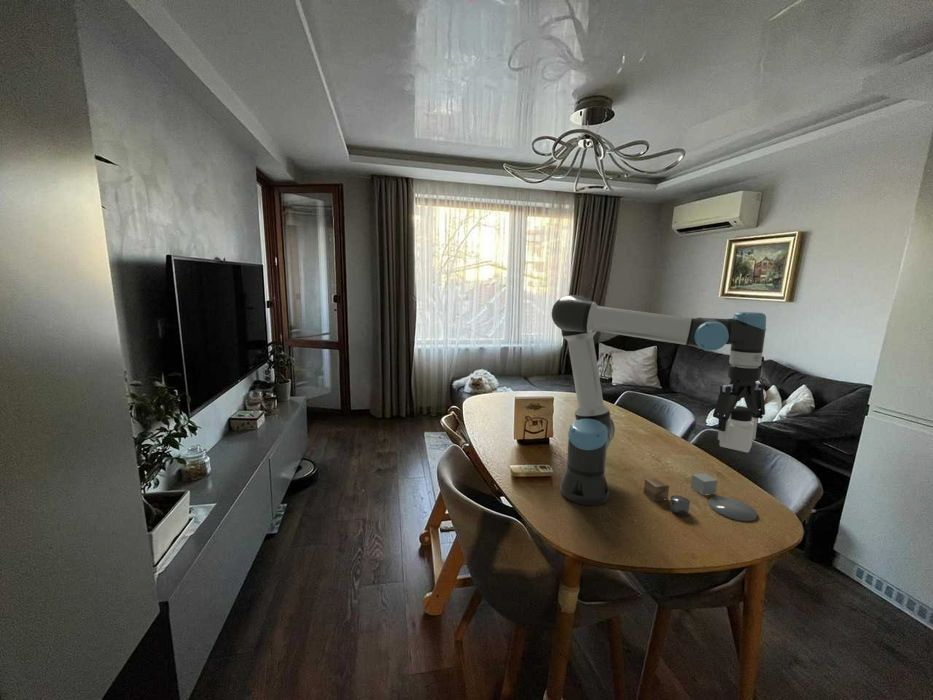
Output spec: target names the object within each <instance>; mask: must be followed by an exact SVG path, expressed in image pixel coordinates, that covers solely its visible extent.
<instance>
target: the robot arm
mask: <svg viewBox="0 0 933 700" xmlns="http://www.w3.org/2000/svg"><path fill="white" fill-rule="evenodd" d="M551 319H552V321H553V323H554V325H555V326H556V327H557V328H559V329H560V331H561V336H562V338H563V339H565V340H566V341H567V346H568V352H569V359H570V363H571V370H572V377H573V382H574V388H575V395H576V399H577V400H576V401H577V408H576V409H575V411H574V416H575V417H574V418H575V420H574V421H573V422H571V424H570V426H569V430H568V436H567V437H568V440H567V441H568V442H567V443H568V445H567V461H566V469H565V472H564V474H563V477H562V479H561V481H560V484H559V485H560V487H559V490H560V493H561V495H562V497H564V498H565V499H567V500H569V501H570V502H573V503H575V504H579V505H583V506H589V507H590V506H599V505H603V504H605V503H607V502H608V500H609V496H610V495H609V493H610V491H609V490H610V489H609V486H608V482H607V478H606V475H605V474H606V473H605V471H606V459H607V458H606V456H607V450H608V449H609V447H610V444H611V442H612V440H613V438H614V436H615V432H616V429H615V428H616V427H615V423H614V421H613V418H611V412H610V409H609V407H608V406H606V405H605V403H604V398H603V397H604V396H603V392H602V385H601V381H600V380H601V379H600V372H599V367H598V361H597V360H598V359H597V354H596V348H595V341H594V336H595V334H596V333H597V332H600V333H601V332H602V333H608V334H615V335H620V336H626V337H632V338H640V339H646V340H653V341H658V342H659V341H660V342H665V343H671V344H672V343H673V344H679V345H683V346H684V345H685V346H689V347H694V348H695V347H696V348H701V349H703V350H706V351H717V350H720V349H721V348H723V347H725V345H730V353H729V359H728V360H729V362H728V363H729V365H728V370H727V371H728V372H727V377H728V378H729V380H730V381H729V383H728V384H721V385H720V386H719V395H718V398H717V400H716V404H715V406H714V411H713V413H712V417H713V418H714V419H715V418H716V419H718V423H717V424H718V425H717V430H718V432H717V440H718V441H719V442H720V441H722V442H725V443H728V438H729V428H730V421H728V419H729V417H730V415H731V413H732V411H733V409H734V408H735V406H737V404H738V402H740V401H741V400H742V399H744V402H745V406H746V408H749V409H750V410H752V420H751V423H754V431H753V440H756V438H757V437H756V435H757V428H758V425H759V424H758V423H759V419H763V418H764V415H765V414H766V405H765V396H764V395H765V394H764V390H765V384H764V383H762V382H759V380H760V379H761V371H762V369H761V368H760V367H761V366H762V360H763V358H762V357H763V353H764V351H763V350H764V344H765V338H766V337H765V336H766V331H767V327H766V326H767V316H766V314H765V313H763V312H757V311H756V312H753V311H737V312H735V313H734V315H733V318H714V317H713V318H711V317H683V316H678V315H671V314H669V315H668V314H662V313H656V312H655V313H654V312H647V311H638V310H631V309H626V308H625V309H624V308H616V307H609V306H601V305H598V304H597V302H595V301H592V300H591V299H590V298H589V297H587V296H584V295H582V294H575V295H574V294H572V295H565V296H562V297H560V298H559V299H558V300H557V301H555V303H554V304H553V306H552V309H551ZM753 440H752V441H753Z"/></svg>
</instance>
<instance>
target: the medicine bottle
mask: <svg viewBox="0 0 933 700" xmlns="http://www.w3.org/2000/svg"><path fill="white" fill-rule="evenodd" d="M751 420H752V410H750V409H749V408H747V406H746V407H745V406H740V405H736V406H735V408H734V409H733V411H732V413H731V415H730V417H729V419H728V421H730V428H729V438H728V443H725V442H722V441H720V440H719V447H721V448H727V449H729V450H735V451H739V452H742V453H743V452H744V453H750V450H751V448H752V446H753V431H754V423H751Z"/></svg>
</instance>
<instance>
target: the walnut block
mask: <svg viewBox="0 0 933 700" xmlns="http://www.w3.org/2000/svg"><path fill="white" fill-rule="evenodd" d="M643 484H644V487H643V494H644V493H645V494H646V495H645V494H644V495H645V496H647V497H648V498H649V497H650V498H651V499H650V498H649V499H650V500H651V501H653V502H659V501H658V500H662V501H665V500H664V499H668V500H669V492H670V485H669V484H668V483H666V482H665V481H664V480H662V479H661V478H659V477H655V478H653V477H652V478H645V479H644V483H643Z"/></svg>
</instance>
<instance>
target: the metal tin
mask: <svg viewBox="0 0 933 700" xmlns="http://www.w3.org/2000/svg"><path fill="white" fill-rule="evenodd" d="M690 502H691V501H690V499H689V498H688V497H684V496H682V495H678V494H677V495H676V494H675V495H671V496H670V502H669V511H670V513H671V512H672V513H671V514H672V515H675V516H677V517H682V518H685V517H688V516H689V513H690V505H691V503H690Z"/></svg>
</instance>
